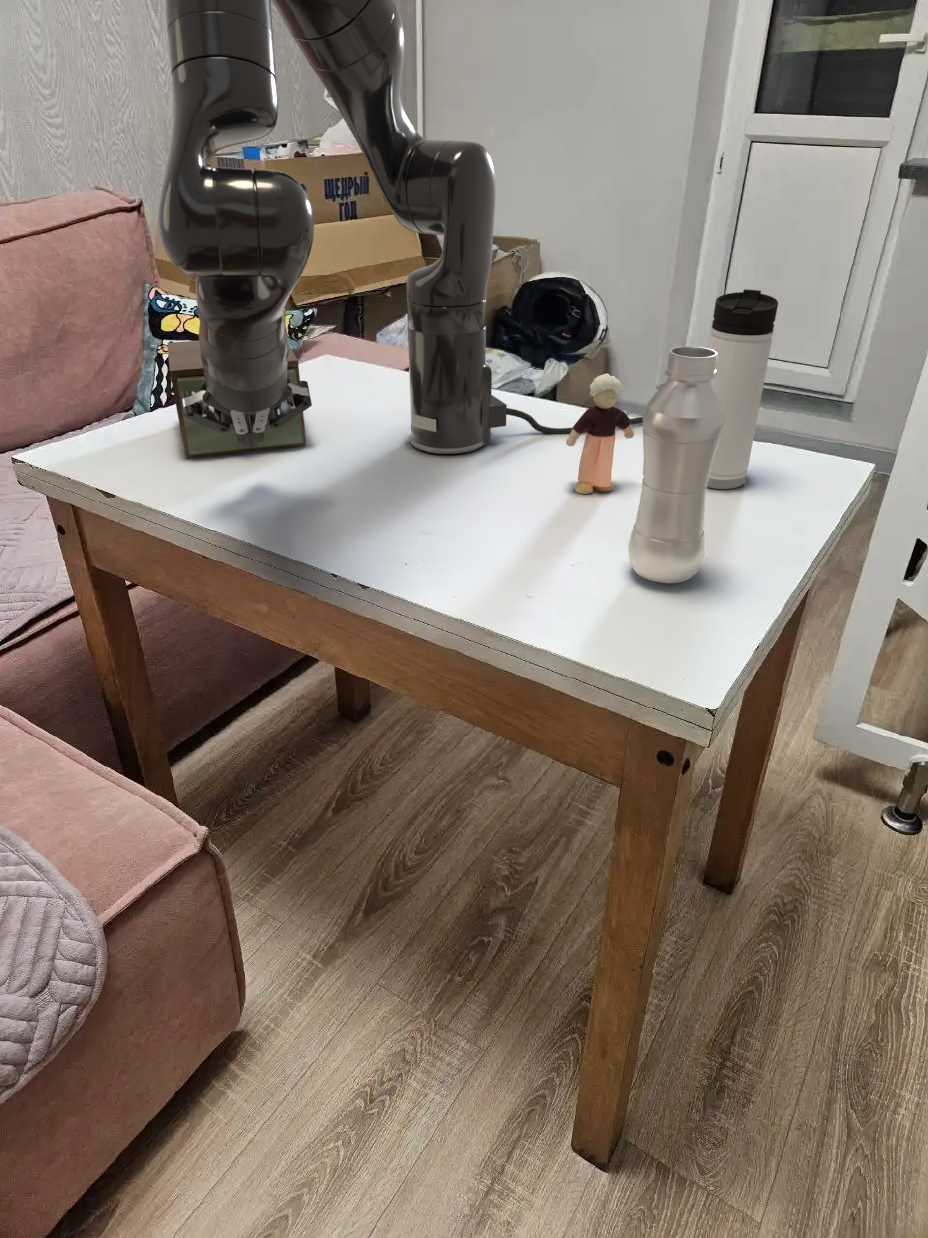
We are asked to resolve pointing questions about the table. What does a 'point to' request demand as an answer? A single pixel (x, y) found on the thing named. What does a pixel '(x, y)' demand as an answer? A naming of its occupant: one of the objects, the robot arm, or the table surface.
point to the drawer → (213, 441)
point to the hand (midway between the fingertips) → (249, 439)
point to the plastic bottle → (677, 468)
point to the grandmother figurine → (599, 435)
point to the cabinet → (190, 364)
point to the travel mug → (739, 377)
